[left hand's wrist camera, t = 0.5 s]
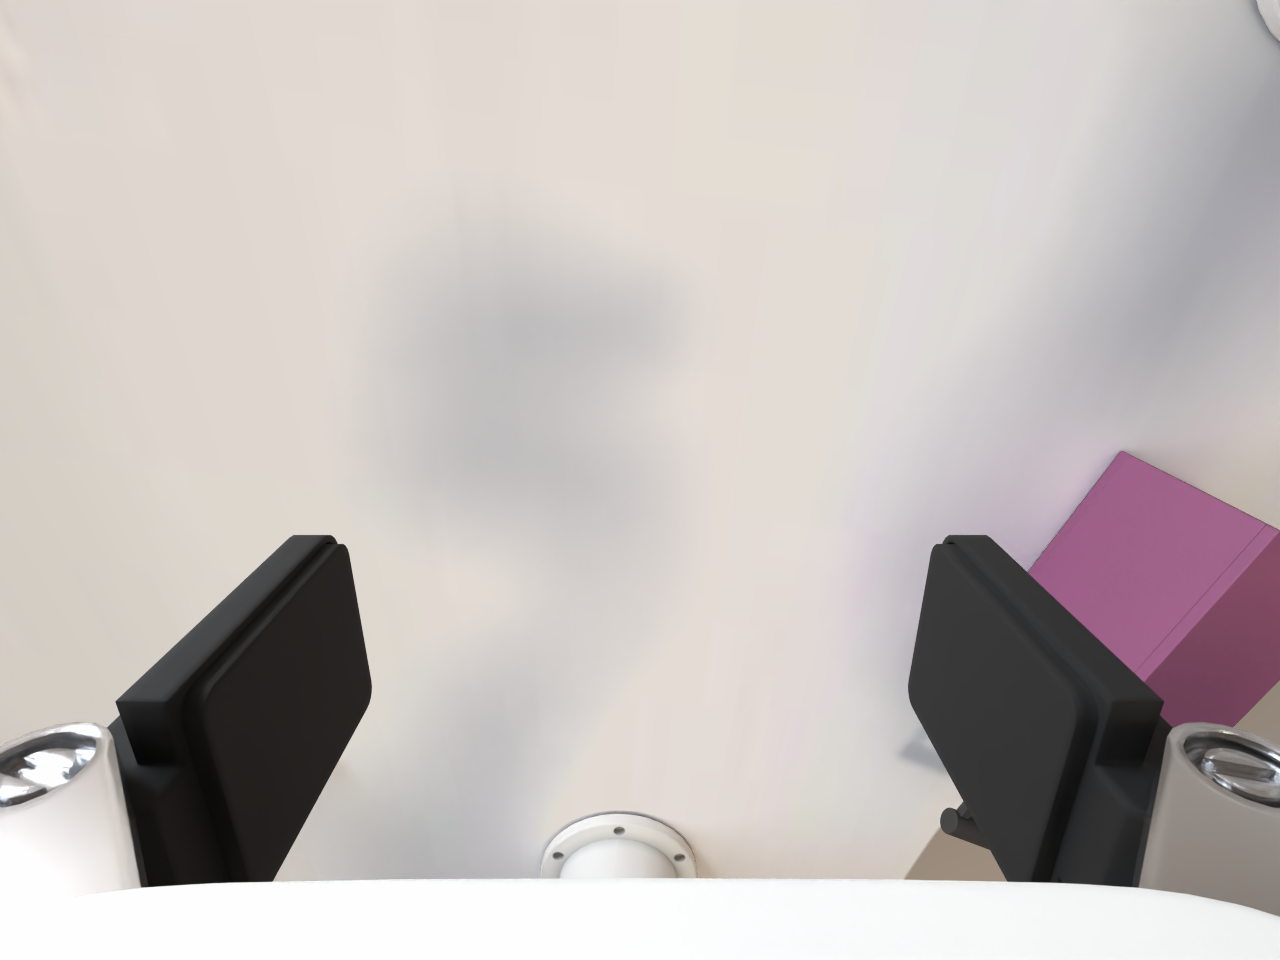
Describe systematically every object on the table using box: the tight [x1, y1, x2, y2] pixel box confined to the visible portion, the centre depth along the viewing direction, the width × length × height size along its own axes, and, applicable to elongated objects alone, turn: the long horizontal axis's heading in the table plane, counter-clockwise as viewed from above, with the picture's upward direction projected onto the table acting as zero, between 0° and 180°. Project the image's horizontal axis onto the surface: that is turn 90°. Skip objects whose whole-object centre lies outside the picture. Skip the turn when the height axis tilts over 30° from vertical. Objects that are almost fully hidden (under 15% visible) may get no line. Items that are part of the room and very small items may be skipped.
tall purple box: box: [1028, 451, 1280, 728], centre depth 41 cm, size 18×6×11 cm, turn 155°
